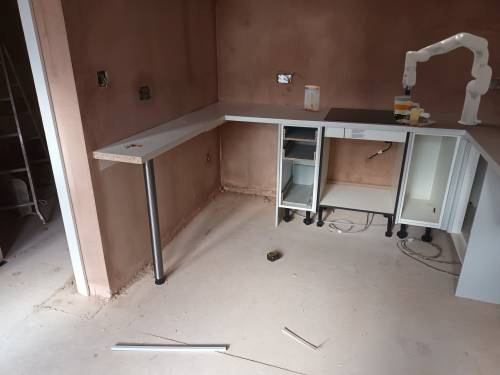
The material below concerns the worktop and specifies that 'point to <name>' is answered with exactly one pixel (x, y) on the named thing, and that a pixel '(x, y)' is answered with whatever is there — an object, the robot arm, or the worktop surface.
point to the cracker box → (312, 98)
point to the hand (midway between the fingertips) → (407, 94)
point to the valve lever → (412, 104)
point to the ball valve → (417, 114)
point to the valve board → (422, 123)
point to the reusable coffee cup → (401, 104)
